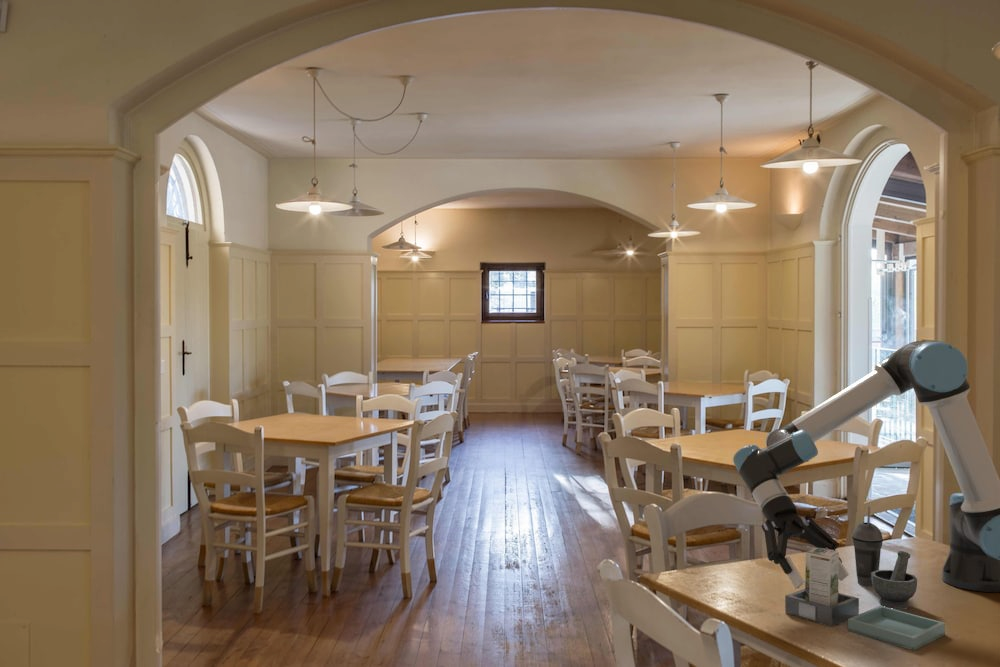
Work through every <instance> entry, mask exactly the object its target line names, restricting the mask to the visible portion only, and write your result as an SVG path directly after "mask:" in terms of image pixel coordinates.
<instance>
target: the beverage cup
mask: <svg viewBox="0 0 1000 667" xmlns="http://www.w3.org/2000/svg"><path fill="white" fill-rule="evenodd" d="M870 513H871V506H867V522H861V523H858V525H856V526H855V528H854V529H853V532H852V536H851V538H852V543H853V549H854V560H855V568H856V569H855V572H856V578H857V579H856V580H857V584H859V585H860V586H864V587H869V586H873V585H872V580H871V572H874V571H877V570H880V562H881V561H880V560H881V552H882V550H881V549H882V547H883V542H884V539H883V534H882V531H881V530H880V528H879V527H878V526H877V525H875V524H873V523H871V522H870V519H871V518H870V517H871V514H870Z"/></svg>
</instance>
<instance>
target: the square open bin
mask: <svg viewBox="0 0 1000 667" xmlns="http://www.w3.org/2000/svg"><path fill="white" fill-rule="evenodd" d="M784 599H785V600H784V601H785V602H784V603H785V604H784V608H785V610H784V611H785V612H784V613H785V614H788V615H790V614H791V616H794V617H798V618H800V617H801V618H802V619H804V620H807V619H808V621H810V620H812V621H811V622H814V623H817V622H818V624H820V623H822V624H821V625H823V624H825V625H824V626H826V627H830V628H833V627H836V626H838V625H840V624H842V623H843V624H844V623H845V622H848V619H849V618H852V617H854V616H857V615H859V614H860V600H859V599H860V598H859V597H856V596H853V595H848V594H844V593H842V592H838V604H836V605H833V606H826V605H823V604H819V603H816V602H812V601H809V600H805V588H802V589H800V590H797V591H793V592H791V593H788V594H786V595H785V598H784Z"/></svg>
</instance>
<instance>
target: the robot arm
mask: <svg viewBox="0 0 1000 667" xmlns="http://www.w3.org/2000/svg"><path fill="white" fill-rule="evenodd" d="M968 373H969V364H968V362H967V359H966V356H965V355H964V354H963V352H961V350H960V349H958V348H957V347H956V346H953V345H952V344H950V343H947V342H945V341H939V340H930V341H929V340H928V341H927V340H926V341H925V340H916V341H912V342H909V343H907V344H905V345H903V346H902V347H900V348H898V350H896V351H894V352H893V353H891V354H890V355H888V356H887V357H886V358H884V359H883V360H881V361H880V362H878V363H877V364H875V366H874V370H872V371H871V372H869V373H868V374H866V375H864V376H863V377H861V378H860V379H858V380H856V381H855V382H854V383H852V384H850V385H849V386H847V387H846V388H844V389H842V390H840V391H839V392H838V393H836V394H834V395H833V396H831V397H829V398H828V399H826V400H824V401H823V402H822V403H820V404H818V405H817V406H815V407H813V408H812V409H810V410H809V411H807V412H806V413H804V414H802V415H801V416H799V417H797V418H795V419H793V421H791V422H790V423H788V424H786V425H784V426H783V427H781V428H776V429H773V430H771V431H770V432H769V433H768V434H767V436H766V439H765V440H766V441H765V445H766V447H764V448H760V447H759V446H758V445H756V444H749V445H745V446H743V447H741V448H739V449H738V450H737V451H736V452H735V454H734V455H733V457H732V458H733V459H732V462H733V465H734V466H735V467H736V470H737V472H738V474H739V476H740V477H741V479H742V481H743V482H744V483H745V485H746V487H747V488H748V491H749V492H750V493H751V495H752V496H753V498H754V500H755V502H756V504H757V505H758V507H759V509H760V510H761V513H762V515H763V516H764V518H765V522H763V524H762V525H761V529H762V531H763V533H764V537H765V547H766V552H767V553H766V554H767V559H768V561H769V562H773V563H774V564H775V565H778V564H779V565H780V568H781V569H782V571H783V572H784V574H785V575H787V576H788V578H789V580H790V582H791V584H792V585H793V587H794V588H795V590H797V589H799V588H800V587H801V586H802V585H803V584H805V579H803V577H802V575H801V574H800V572H799V570H798V569H797V567H796V564H794V561H793V560H792V558H791V557H790V556H786V555H787V547H788V542H789V541H788V540H790V539H792V538H793V539H794V538H795V539H797V538H799V539H800V540H805V542H807V543H809V544H810V545H812V546H814V548H825V549H830V550H834V551H836V550H837V549H838V548H839V547H840V543H839V541H836V539H834V538H833V537H832V536H831V535H830V534H829V533H828V532H826V531H825V530H824V529H823V527H821V526H820V525H819V524H818V523H816V522H815V521H814V519H813V518H812V517H811V516H810V515H809V514H805V516H803V517H800V516H799V515H798V513H797V510H798V509H797V506H796V505H795V504H794V502H793V500H792V498H791V497H790V496H789V494H788V491H787V490H786V489H785V487H784V485H783V484H782V483H781V481H780V479H779V478H778V476H781V475H783V474H785V473H786V472H788V471H791V470H793V469H795V468H796V467H799V466H800V465H801V466H802V465H803V464H804V463H808V462H810V461H811V460H812V459H814V458H815V457H817V456H818V454H819V451H818V447H817V446H816V444H815V443H816V442H817V441H819V440H821V439H823V438H824V437H825V436H827V435H829V434H831V433H832V432H834V431H836V430H838V429H839V428H841V427H842V426H844V425H845V424H847V423H848V422H851V421H852V420H854V419H855V418H857V417H858V416H860V415H862V414H864V413H865V412H867V411H868V410H870V409H872V408H873V407H875V406H877V405H878V404H880V403H881V402H883V401H885V400H887V399H888V398H889V397H891V396H901V395H902V394H904V393H906V392H908V391H910V390H913V391H914V393H915V396H916V398H917V401H918V403H919V404H920V405H923V406H924V407H925V406H926V407H927V408H928V411H929V414H930V415H931V418H932V420H933V422H934V425H935V428H936V430H937V432H938V436H939V437H940V440H941V444H942V446H943V448H944V451H945V453H946V455H947V459H948V461H949V464H950V465H951V468H952V471H953V473H954V476H955V478H956V481H957V483H958V486H959V488H960V491H961V492H955V493H952V494H951V495H950V496H949V497H950V498H949V499H950V500H949V504H948V507H949V551H948V554H947V556H946V560H945V562H944V564H943V568H942V571H941V572H942V573H941V579H942V581H943V582H944V583H946V584H948V585H950V586H953V587H956V588H960V589H963V590H967V591H968V590H970V591H975V592H984V593H1000V478H999V475H998V473H997V470H996V467H995V464H994V463H993V462H994V461H993V460H992V457H991V455H990V453H989V450H988V447H987V445H986V442H985V440H984V437H983V435H982V432H981V429H980V428H979V424H978V423H977V420H976V418H975V415H974V413H973V410H972V407H971V406H970V403H969V400H968V398H967V396H968V394H969V392H970V391H971V386H970V384H969V381H968V379H967V375H968ZM776 532H777V536H776ZM849 575H850V574H849V572H848V571H847V569H846V568H845V566H844V564H843V561H842V559H841V557H840V556H839V577H838V581H839V582H841V581H842V582H843V581H844V580H845V579H846V578H847V577H848V576H849Z"/></svg>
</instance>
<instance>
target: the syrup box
mask: <svg viewBox="0 0 1000 667" xmlns="http://www.w3.org/2000/svg"><path fill="white" fill-rule="evenodd" d="M839 557H840V553H839V551H837V550H835V551H834V550H830V549H828V548H827V549H825V548H817V547H814V548H811V549H810V550H808V551H807V552H805V575H804V576H805V579H804V584H805V585H804V586H805V587H804V589H805V600H809V601H812V602H816V603H819V604H823V605H826V606H833V605H836V604H838V593H839V579H838V577H839Z"/></svg>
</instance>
